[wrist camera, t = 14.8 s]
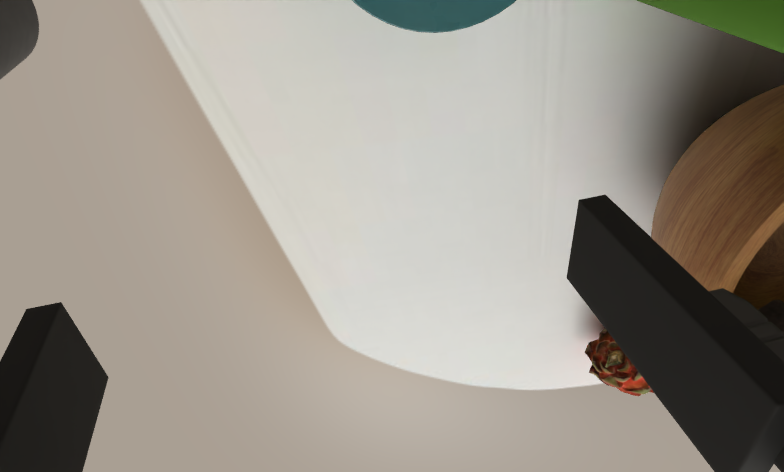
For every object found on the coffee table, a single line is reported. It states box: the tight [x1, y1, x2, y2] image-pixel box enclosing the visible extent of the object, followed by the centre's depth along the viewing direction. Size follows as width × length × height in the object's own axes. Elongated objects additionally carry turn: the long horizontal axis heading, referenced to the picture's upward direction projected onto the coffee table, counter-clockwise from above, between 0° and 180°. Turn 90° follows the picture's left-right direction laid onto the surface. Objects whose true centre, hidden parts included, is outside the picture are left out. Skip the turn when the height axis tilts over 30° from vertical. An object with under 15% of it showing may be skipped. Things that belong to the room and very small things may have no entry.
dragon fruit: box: [585, 329, 654, 396], centre depth 57 cm, size 8×8×12 cm
